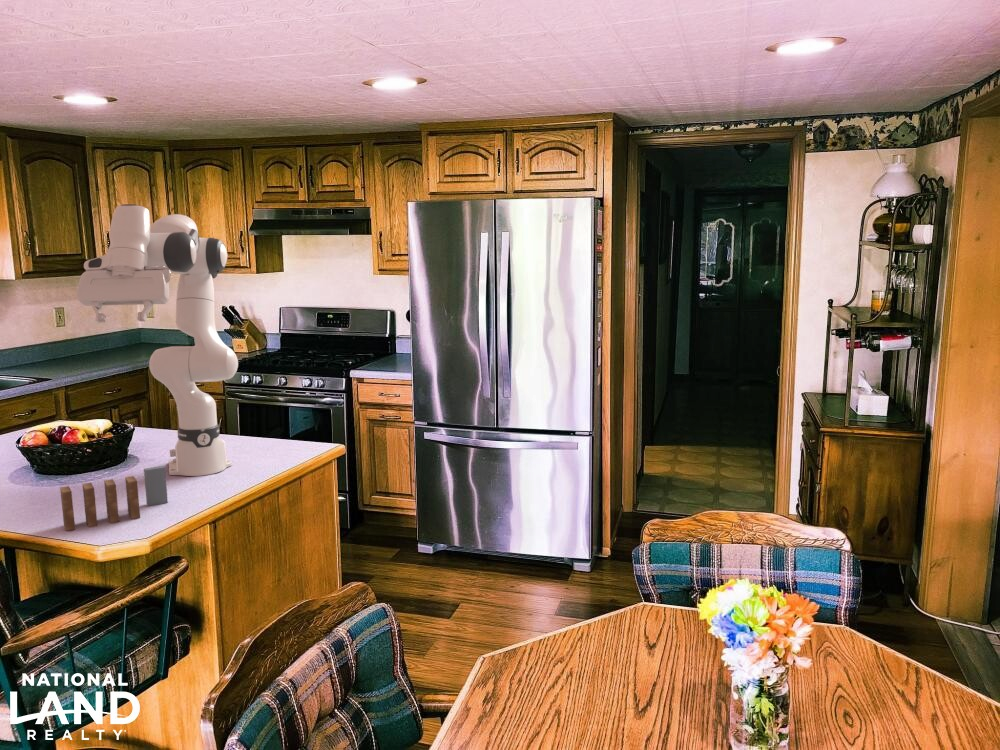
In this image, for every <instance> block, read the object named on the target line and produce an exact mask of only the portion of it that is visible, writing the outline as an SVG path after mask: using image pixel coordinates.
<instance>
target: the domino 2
mask: <svg viewBox="0 0 1000 750" xmlns="http://www.w3.org/2000/svg"><path fill="white" fill-rule="evenodd" d="M82 493H83V505H84V514H85V522H86V525H87V526H88V528H94V527H97V526H98V516H97V515H98V514H97V505H96V496H95V495H96V494H95V487H94V485H93V484H92V482H86V483H82Z"/></svg>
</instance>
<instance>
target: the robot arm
mask: <svg viewBox="0 0 1000 750" xmlns="http://www.w3.org/2000/svg"><path fill="white" fill-rule="evenodd" d="M198 230H199V229H198V226H197V224H196V222H195V221H194V219H192V218H190V217H189V216H187V215H184V214H180V213H176V214H175V213H174V214H173V213H172V214H168V215H164V216H162V217H160V218H158V219H157V220H155V221H154V222H153V223H152V224H151V214H150V210H149V209H148V208H146V207H145V206H143V205H139V204H132V203H129V204H128V203H126V204H124V203H123V204H120V205H117V206H116V207H115V209H114V210H113V214H112V218H111V221H110V226H109V237H108V238H109V241H110V242H109V243H110V244H109V246H108V249H107V253H106V254H103V255H101V256H98V257H95V258H91V259H88V260H86V261H84V263H83V268H84V270H85V271H84V272H83V273H82V274H81V275H80V278H79V281H78V284H77V290H76V298H77V300H78V301H79V302H80V304H82V305H83V306H85V307H92V309H93V311H94V314H95V321H96V322H97V323H99V324H100V323H105V322H106V318H107V315H105V314H104V312H101V310H103V306H129V305H130V306H131V305H132V306H134V305H135V306H136V305H142V306H144V308H143V309H142V310H141V311H137V317H136V318H137V321H138V322H147V321H148V318H147V317H148V315H149V314H150V312H151V311H152V310H153V308H154V307H153V306H154V305H166V304H167V303H168V302H169V300H170V284H169V282H170V281H171V276H172V275H173V274H174V275H175V274H177V275H179V278H178V284H177V290H176V291H177V292H176V306H175V308H176V309H175V323H176V324H175V325H176V326H177V328H178V330H179V331H181V332H182V333H184V334H186V335H188V336H190V337H192V338H194V342H195V343H194V345H189V346H188V345H186V346H183V345H178V346H177V345H176V346H175V345H174V346H167V347H162V348H161V347H160V348H158V349H155V350H154V351H153V353H152V354H151V355H150V358H149V362H148V363H149V364H148V368H149V371H150V374H151V375H152V377H153V378H154V379H156V381H158V382H160V383H161V384H162V385H164V386H165V387H166V388H167V389H168V391H169V392H170V393H171V395H172V397H173V399H174V401H175V405H176V409H177V415H178V427H177V438H178V439H177V441H176V444H175V445H174V448H173V449H169V457H171V458H172V459H169V460H168V475H170V476H186V477H197V476H198V477H200V476H201V477H202V476H208V475H213V474H216V473H219V472H220V473H221V472H222V471H224V470H226V469H227V468H228V467H229V468H230V467H231V466H233V462H232V461H230V460H228V458H227V450H226V449H227V448H226V441H225V440H224V439H222V438H221V437H220V425H219V424H218V417H217V403H216V401H215V399H214V398H213V397H212V395H210V394H209V393H206V392H204V391H202V390H200V389H199V387H197V384H196V383H202V382H203V383H207V382H208V383H210V382H211V383H212V382H213V383H215V382H221V381H226V380H230V379H232V378H233V377H234V376H235V375H236V373H237V371H238V368H239V360H238V355H236V353H235V351H234V349H232V347H231V348H230V347H229V346H228V345H227V344H225V343H224V342H223V340H222V338H221V337H220V336H219V334H218V330H217V326H216V317H215V313H216V311H215V310H216V309H215V308H216V306H215V304H216V303H215V302H216V301H215V297H216V296H215V285H214V280H213V279H216V278H217V276H218V274H221V273H222V272H223V270H224V269H225V268H226V267H227V266H226V265H227V261H228V251H227V248H226V246H225V244H224V242H223V241H222V239H219V238H215V237H202V236H201V237H200V236H199V232H198Z"/></svg>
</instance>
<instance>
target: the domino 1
mask: <svg viewBox="0 0 1000 750" xmlns="http://www.w3.org/2000/svg"><path fill="white" fill-rule="evenodd" d="M59 491H60V500H61V509H62V510H61V511H62V520H63V521H62V522H63V526H64V530H65V532H69V531H70V532H71V531H75V530H76V524H75V523H76V522H75V515H74V504H73V496H72V495H73V493H72V489H71V487H70V485H66V486H61V487H59Z"/></svg>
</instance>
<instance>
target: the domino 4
mask: <svg viewBox="0 0 1000 750" xmlns="http://www.w3.org/2000/svg"><path fill="white" fill-rule="evenodd" d="M124 479H125V480H124V481H125V491H126V501H127V504H126V505H127V512H128V513H127V514H128V515H129V517H130V519H131V520H136V519H140V518H141V511H140V503H139V502H140V500H139V499H140V497H139V489H138V481H137V479H136V477H135V476H134V475H131V476H125V478H124Z"/></svg>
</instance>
